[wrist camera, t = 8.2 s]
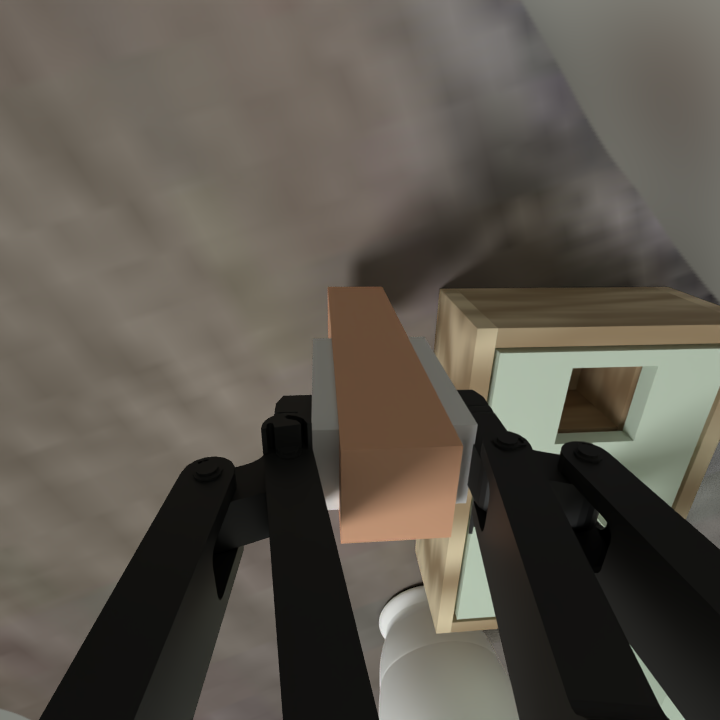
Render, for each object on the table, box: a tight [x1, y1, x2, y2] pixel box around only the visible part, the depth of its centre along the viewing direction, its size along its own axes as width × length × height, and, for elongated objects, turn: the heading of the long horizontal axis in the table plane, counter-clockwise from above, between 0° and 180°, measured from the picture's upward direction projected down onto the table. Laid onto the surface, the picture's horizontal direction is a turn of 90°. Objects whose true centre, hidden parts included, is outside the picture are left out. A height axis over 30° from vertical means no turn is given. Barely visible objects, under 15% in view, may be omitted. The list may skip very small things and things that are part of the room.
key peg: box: [328, 287, 463, 544], centre depth 18 cm, size 3×3×15 cm
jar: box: [379, 586, 519, 720], centre depth 33 cm, size 11×10×15 cm
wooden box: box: [415, 287, 720, 634], centre depth 29 cm, size 22×15×7 cm
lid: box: [454, 343, 720, 720], centre depth 22 cm, size 19×12×10 cm, turn 179°
